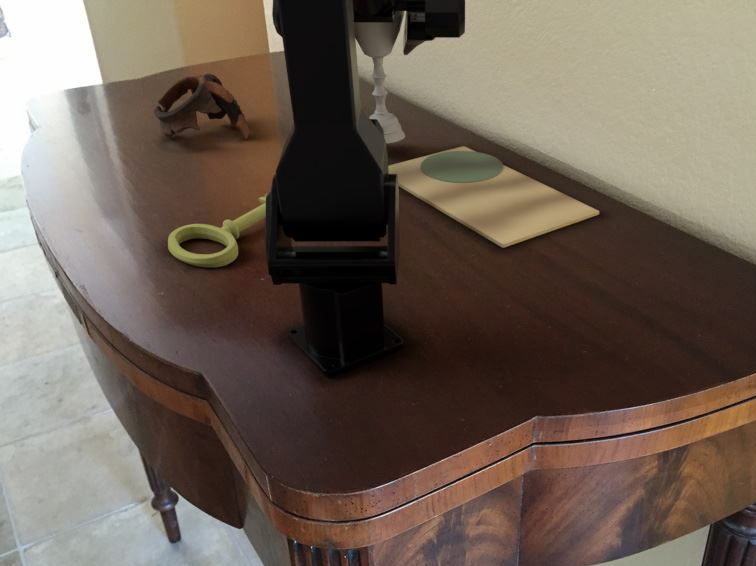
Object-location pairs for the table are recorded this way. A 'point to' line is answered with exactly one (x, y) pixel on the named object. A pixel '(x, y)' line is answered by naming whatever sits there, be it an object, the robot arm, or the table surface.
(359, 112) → the robot arm
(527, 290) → the table surface
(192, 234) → the key
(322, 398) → the table surface
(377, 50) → the chalice
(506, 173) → the place mat
